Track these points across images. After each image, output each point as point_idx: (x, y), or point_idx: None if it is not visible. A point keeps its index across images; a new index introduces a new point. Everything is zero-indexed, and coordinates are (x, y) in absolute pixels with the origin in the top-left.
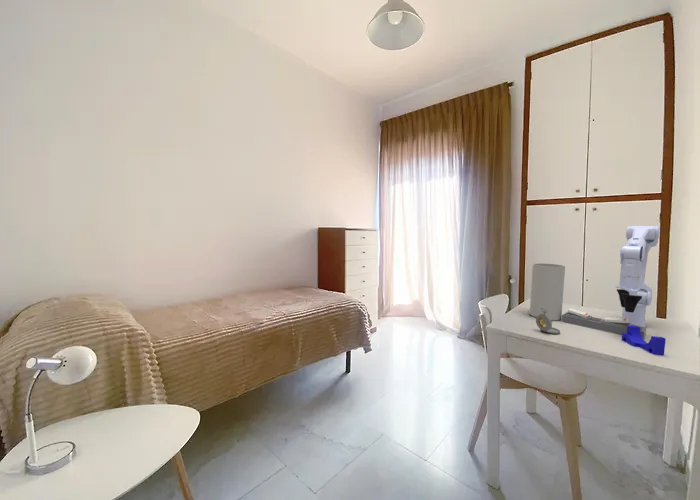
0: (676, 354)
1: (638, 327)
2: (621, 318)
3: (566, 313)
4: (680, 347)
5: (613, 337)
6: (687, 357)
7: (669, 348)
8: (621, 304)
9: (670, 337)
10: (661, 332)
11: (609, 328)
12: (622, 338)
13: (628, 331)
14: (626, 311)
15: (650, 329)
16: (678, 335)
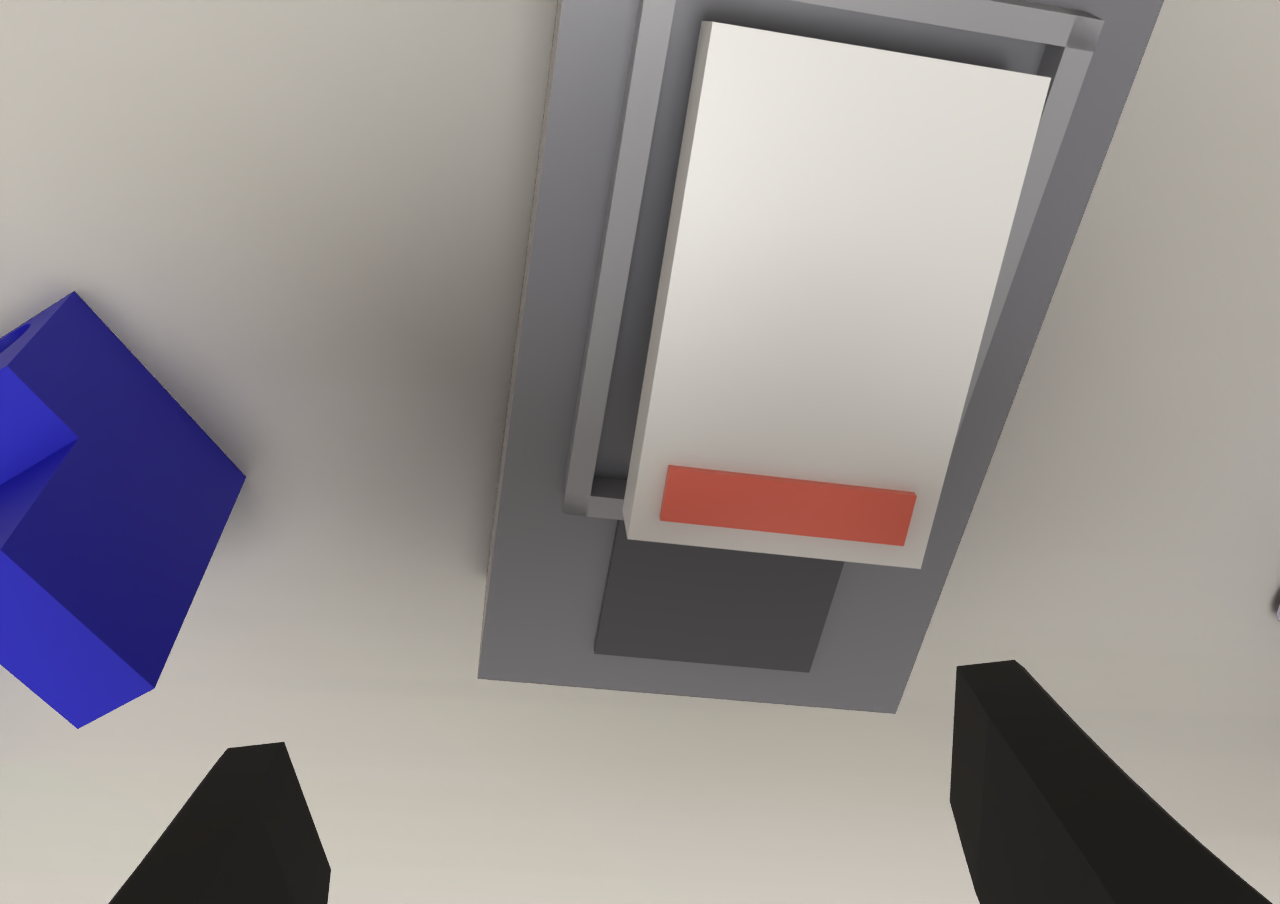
0: (32, 828)
1: (56, 708)
2: (905, 441)
3: None
4: (458, 875)
5: (139, 165)
6: (20, 895)
7: None
8: (994, 729)
9: (927, 830)
10: (1160, 770)
11: (544, 120)
12: (36, 322)
13: (23, 491)
14: (215, 767)
15: (1271, 676)
16: None
